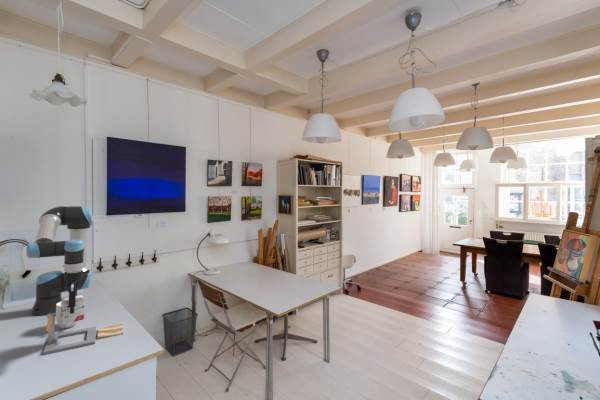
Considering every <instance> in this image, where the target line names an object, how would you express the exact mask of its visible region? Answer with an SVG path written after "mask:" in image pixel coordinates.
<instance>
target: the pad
mask: <svg viewBox="0 0 600 400" xmlns="http://www.w3.org/2000/svg"><path fill="white" fill-rule="evenodd" d="M120 334H121V335H123V334H124V330H123V324H116V325H110V326H104V327H100V328H97V340H101V339H105V338H110V337H115V336H120Z"/></svg>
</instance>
